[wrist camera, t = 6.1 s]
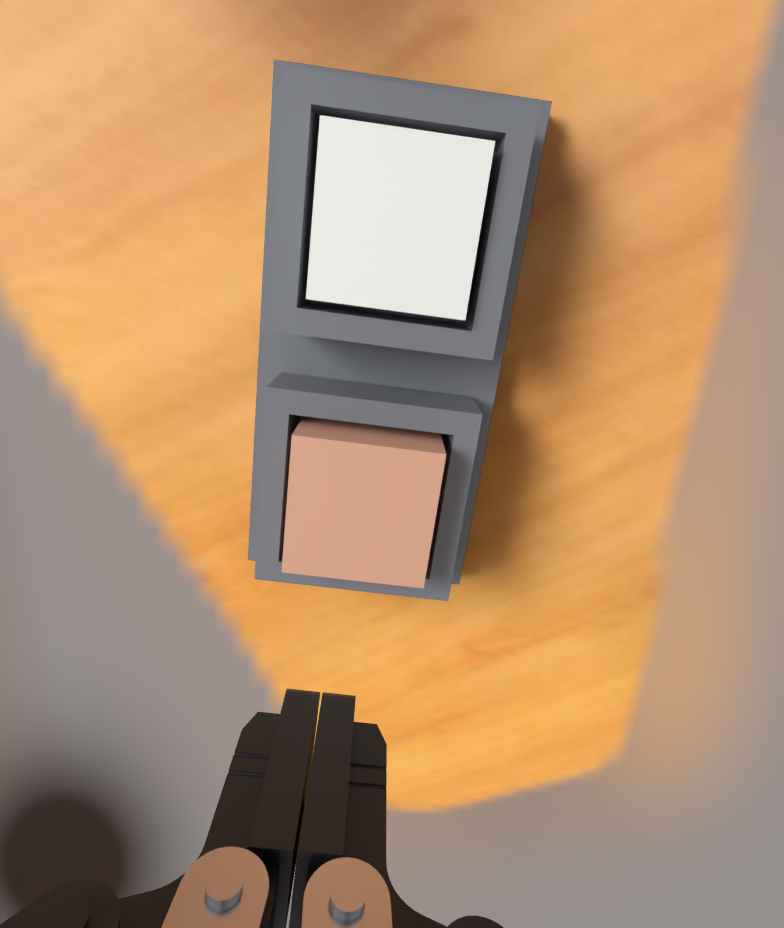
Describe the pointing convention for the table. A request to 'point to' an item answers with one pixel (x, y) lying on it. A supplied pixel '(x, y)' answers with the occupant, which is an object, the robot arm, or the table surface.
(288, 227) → the key console
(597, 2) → the table surface
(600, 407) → the table surface
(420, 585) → the terracotta key
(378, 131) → the off-white key
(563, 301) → the table surface
